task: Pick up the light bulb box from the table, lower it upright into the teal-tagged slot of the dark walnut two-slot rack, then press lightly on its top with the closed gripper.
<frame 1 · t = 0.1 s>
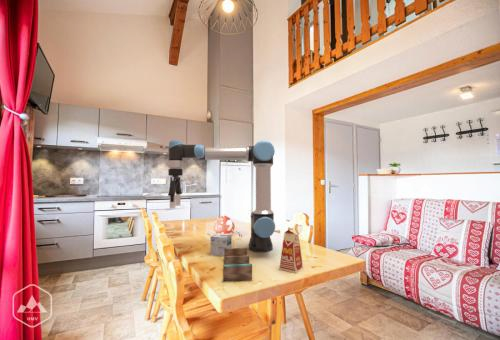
hand: (175, 206, 137), 28 cm above the table, tool pointing down, fingers open, 13 cm apart
milk carton: (291, 268, 118), on the table
rack: (236, 269, 118), on the table
light bulb box: (221, 254, 142), on the table
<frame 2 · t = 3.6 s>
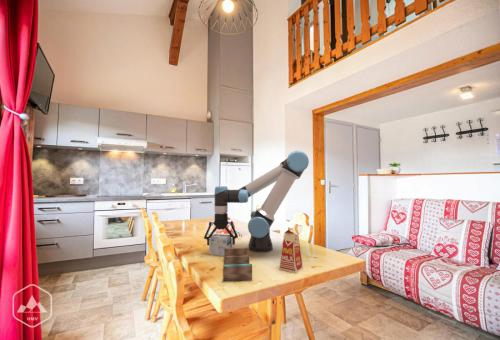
hand: (221, 250, 142), 2 cm above the table, tool pointing down, fingers closed on light bulb box, 12 cm apart
light bulb box: (221, 254, 142), on the table, touching gripper
everything else where it was.
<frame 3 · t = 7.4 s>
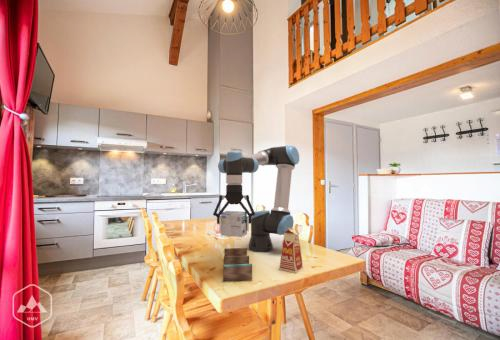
hand: (234, 230, 115), 19 cm above the table, tool pointing down, fingers closed on light bulb box, 12 cm apart
light bulb box: (234, 235, 115), point 17 cm above the table, touching gripper
everything else where it was.
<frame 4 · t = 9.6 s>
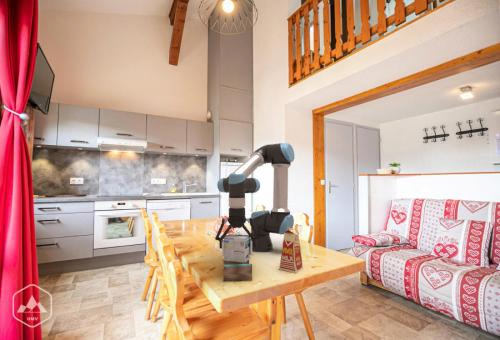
hand: (237, 255, 111), 9 cm above the table, tool pointing down, fingers closed on light bulb box, 12 cm apart
light bulb box: (237, 260, 111), point 6 cm above the table, touching gripper
everything else where it was.
when the fingers open (5 cm above the table, at t = 11.5 s): light bulb box drops 1 cm, resting on rack.
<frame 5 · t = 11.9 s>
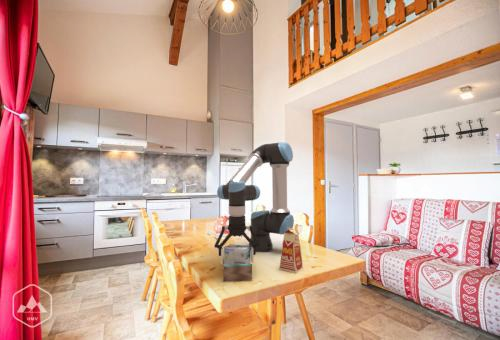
hand: (237, 262, 111), 5 cm above the table, tool pointing down, fingers open, 13 cm apart
light bulb box: (237, 270, 111), point 2 cm above the table, touching rack
everything else where it was.
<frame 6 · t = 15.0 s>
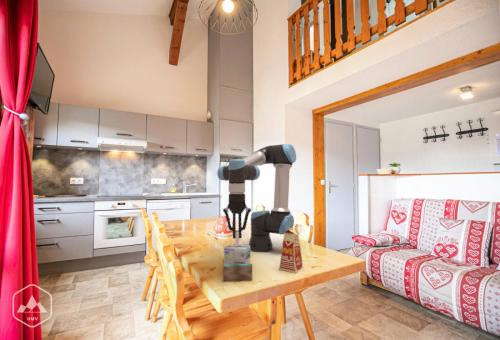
hand: (237, 245, 112), 13 cm above the table, tool pointing down, fingers closed
light bulb box: (237, 270, 111), point 2 cm above the table, touching gripper, rack
everything else where it was.
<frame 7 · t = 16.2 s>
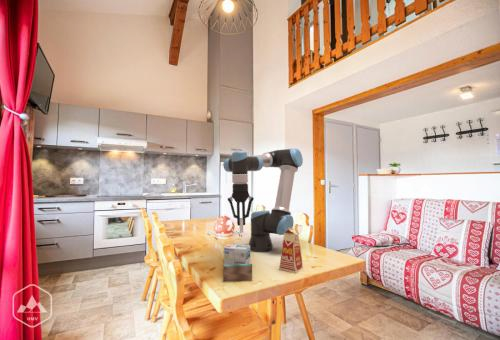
hand: (241, 232, 119), 17 cm above the table, tool pointing down, fingers closed
light bulb box: (237, 270, 111), point 2 cm above the table, touching rack
everything else where it was.
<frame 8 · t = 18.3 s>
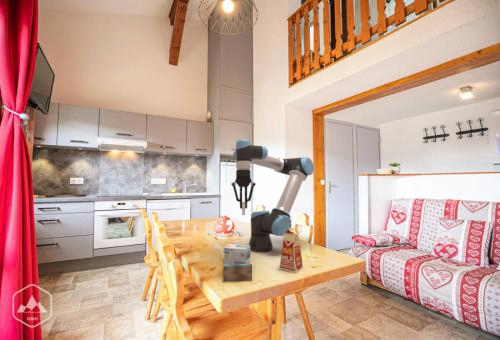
hand: (243, 214, 128), 24 cm above the table, tool pointing down, fingers closed
nothing on the table moved.
at the end: light bulb box 0.2 cm from the target spot on the rack, point 1.6 cm above the rack's base; light bulb box tilted 0°; the gripper is holding nothing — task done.
